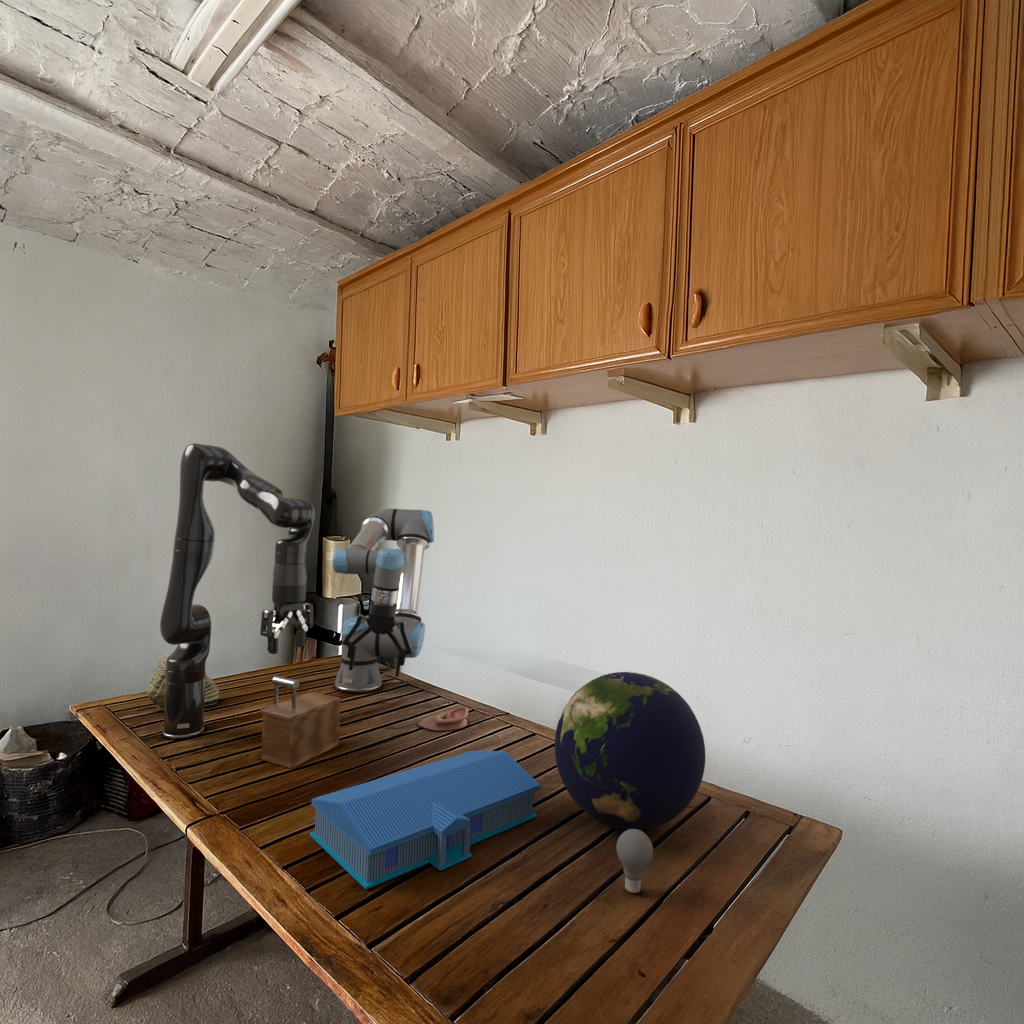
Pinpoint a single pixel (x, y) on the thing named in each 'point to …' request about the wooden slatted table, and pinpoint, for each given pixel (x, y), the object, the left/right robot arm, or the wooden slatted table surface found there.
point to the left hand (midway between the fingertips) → (287, 650)
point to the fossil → (158, 687)
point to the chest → (300, 736)
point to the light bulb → (634, 857)
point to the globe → (630, 751)
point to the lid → (296, 701)
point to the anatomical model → (446, 720)
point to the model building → (423, 815)
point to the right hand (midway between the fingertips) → (374, 672)
